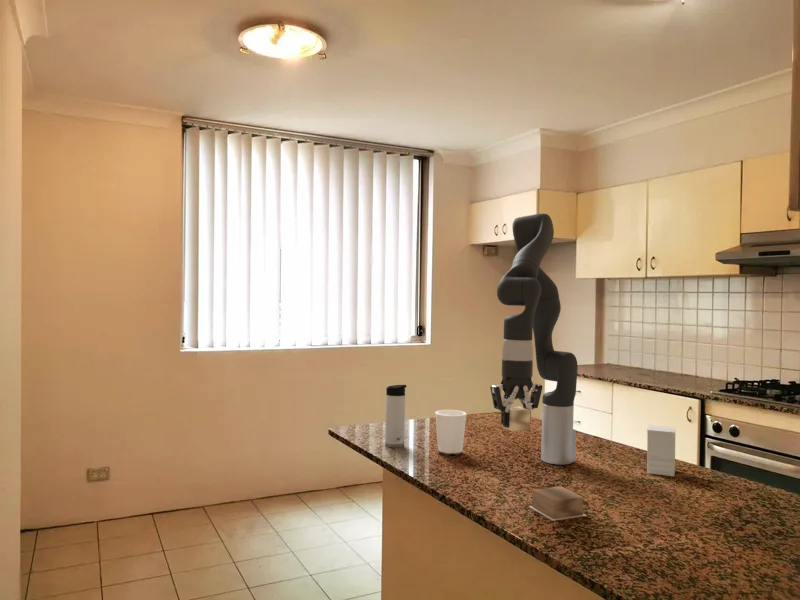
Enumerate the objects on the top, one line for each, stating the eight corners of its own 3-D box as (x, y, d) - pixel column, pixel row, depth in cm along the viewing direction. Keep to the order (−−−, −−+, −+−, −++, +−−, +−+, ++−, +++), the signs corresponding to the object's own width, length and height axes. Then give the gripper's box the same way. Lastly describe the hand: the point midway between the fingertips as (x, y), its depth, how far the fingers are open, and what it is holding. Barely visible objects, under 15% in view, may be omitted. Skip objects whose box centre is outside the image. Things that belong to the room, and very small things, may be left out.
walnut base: (560, 503, 143) (561, 486, 143) (583, 514, 135) (583, 497, 135) (532, 506, 140) (532, 489, 140) (553, 519, 132) (553, 501, 132)
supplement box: (674, 470, 176) (675, 427, 176) (674, 477, 169) (675, 432, 169) (647, 466, 179) (648, 424, 179) (646, 473, 172) (647, 429, 172)
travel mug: (403, 448, 194) (404, 386, 194) (383, 447, 196) (384, 385, 195) (406, 443, 200) (408, 383, 200) (387, 442, 202) (388, 382, 201)
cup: (429, 455, 187) (430, 414, 187) (439, 447, 196) (440, 408, 196) (460, 458, 183) (461, 417, 183) (469, 451, 193) (470, 411, 192)
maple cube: (518, 426, 153) (519, 406, 153) (529, 430, 149) (530, 410, 149) (501, 427, 151) (502, 407, 151) (512, 431, 147) (512, 411, 147)
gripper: (533, 355, 156) (531, 421, 156) (484, 356, 151) (482, 424, 151) (550, 359, 149) (548, 427, 149) (499, 360, 144) (498, 431, 144)
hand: (515, 425), depth 150 cm, fingers closed on maple cube, 5 cm apart
